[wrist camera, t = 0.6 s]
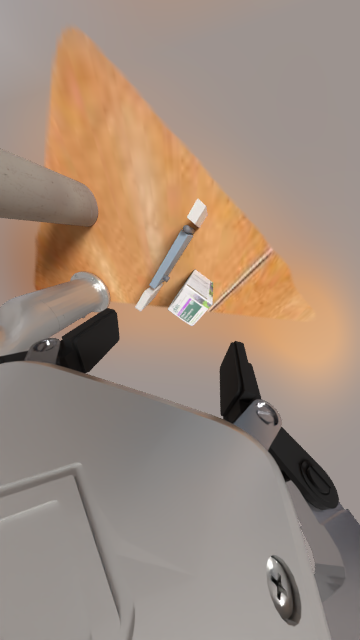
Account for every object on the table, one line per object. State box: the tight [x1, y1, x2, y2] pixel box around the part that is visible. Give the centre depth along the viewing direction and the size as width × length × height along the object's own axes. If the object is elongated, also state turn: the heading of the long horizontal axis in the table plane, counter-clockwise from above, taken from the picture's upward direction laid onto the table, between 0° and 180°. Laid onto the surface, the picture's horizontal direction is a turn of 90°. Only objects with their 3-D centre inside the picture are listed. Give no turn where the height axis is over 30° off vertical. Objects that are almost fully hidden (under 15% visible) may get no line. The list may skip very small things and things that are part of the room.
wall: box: [135, 199, 208, 311], centre depth 30 cm, size 23×2×9 cm, turn 145°
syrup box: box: [168, 270, 213, 326], centre depth 30 cm, size 6×6×14 cm
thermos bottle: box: [0, 148, 98, 226], centre depth 20 cm, size 8×8×28 cm
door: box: [150, 225, 195, 289], centre depth 30 cm, size 13×2×9 cm, turn 145°
